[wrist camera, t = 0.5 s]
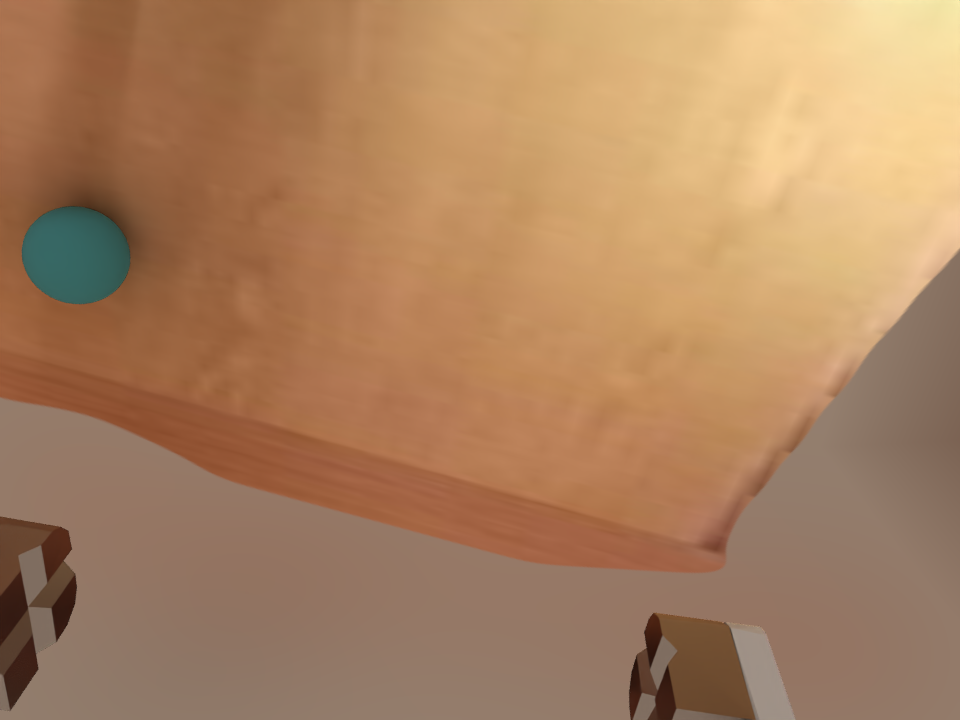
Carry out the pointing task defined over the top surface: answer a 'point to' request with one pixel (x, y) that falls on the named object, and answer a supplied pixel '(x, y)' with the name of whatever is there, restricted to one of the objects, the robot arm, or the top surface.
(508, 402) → the top surface
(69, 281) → the ball
